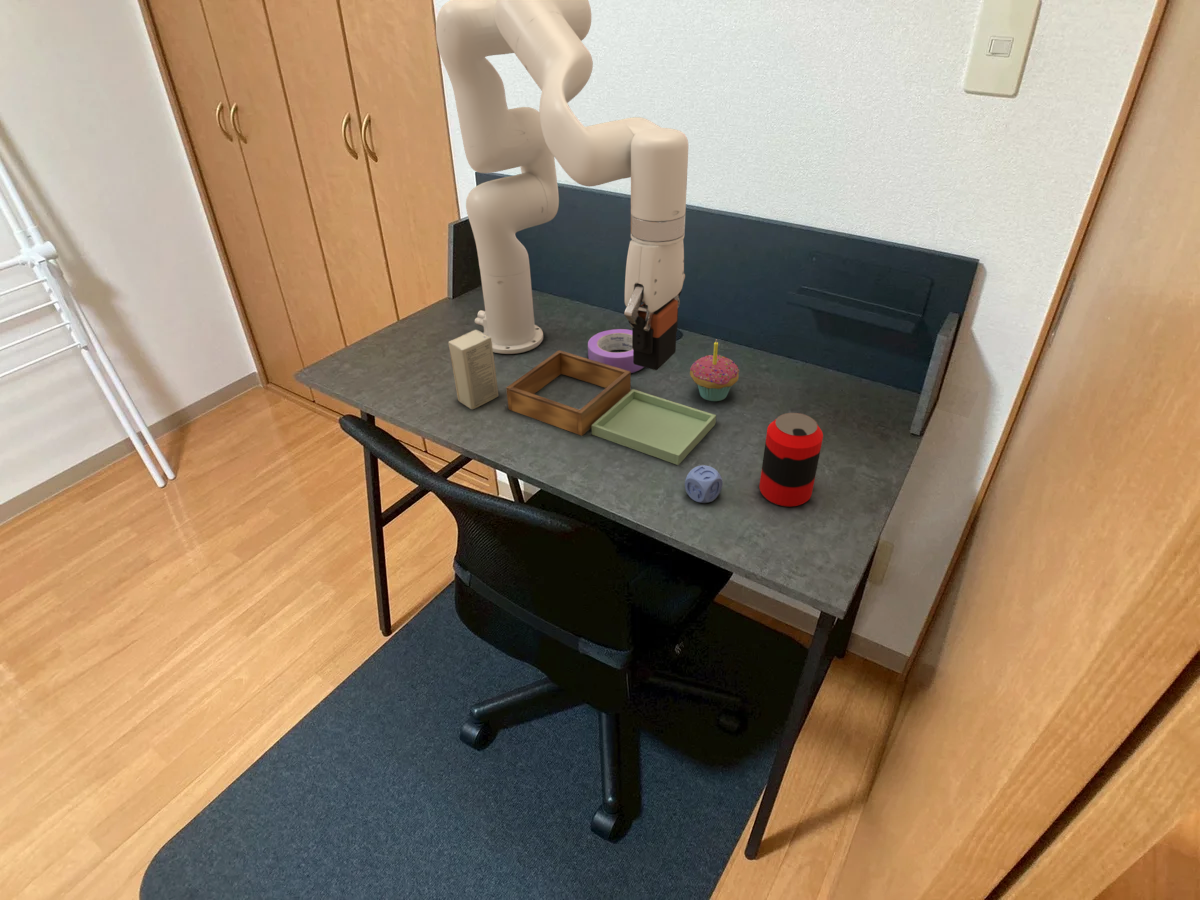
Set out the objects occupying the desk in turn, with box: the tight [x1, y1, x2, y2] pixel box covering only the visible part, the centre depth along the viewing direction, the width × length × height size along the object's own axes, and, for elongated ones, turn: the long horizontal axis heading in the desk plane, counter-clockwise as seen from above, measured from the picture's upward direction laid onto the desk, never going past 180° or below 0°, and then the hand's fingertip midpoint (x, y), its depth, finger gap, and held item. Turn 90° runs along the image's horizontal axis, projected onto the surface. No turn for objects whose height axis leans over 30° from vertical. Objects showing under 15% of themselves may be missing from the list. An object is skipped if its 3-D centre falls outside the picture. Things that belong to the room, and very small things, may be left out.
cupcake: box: [689, 338, 740, 402], centre depth 125 cm, size 9×8×12 cm
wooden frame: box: [505, 349, 632, 437], centre depth 126 cm, size 16×16×4 cm
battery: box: [633, 299, 679, 371], centre depth 109 cm, size 4×7×10 cm, turn 149°
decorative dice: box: [684, 464, 723, 504], centre depth 105 cm, size 4×4×4 cm
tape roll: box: [587, 328, 645, 374], centre depth 138 cm, size 12×12×4 cm
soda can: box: [758, 412, 824, 508], centre depth 103 cm, size 8×8×12 cm
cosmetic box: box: [447, 329, 500, 410], centre depth 125 cm, size 6×4×12 cm
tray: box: [591, 388, 717, 466], centre depth 120 cm, size 16×13×2 cm
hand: (655, 340), depth 110 cm, fingers closed on battery, 7 cm apart
